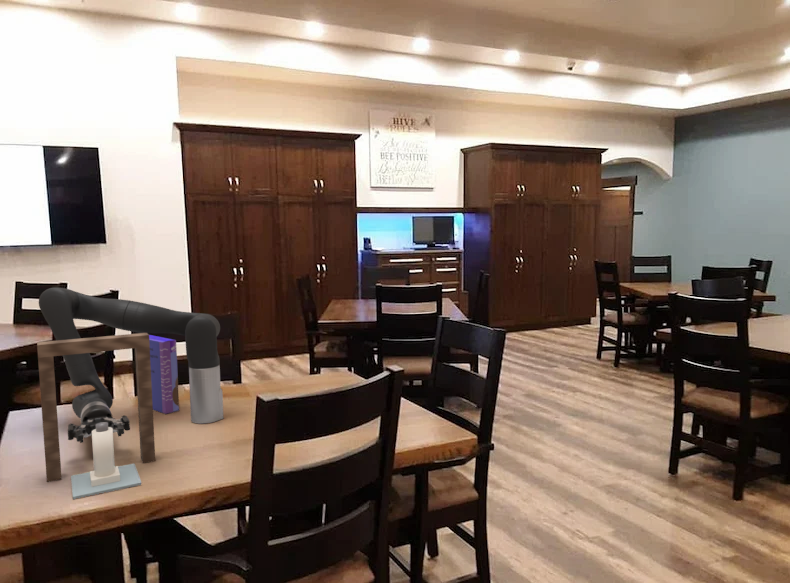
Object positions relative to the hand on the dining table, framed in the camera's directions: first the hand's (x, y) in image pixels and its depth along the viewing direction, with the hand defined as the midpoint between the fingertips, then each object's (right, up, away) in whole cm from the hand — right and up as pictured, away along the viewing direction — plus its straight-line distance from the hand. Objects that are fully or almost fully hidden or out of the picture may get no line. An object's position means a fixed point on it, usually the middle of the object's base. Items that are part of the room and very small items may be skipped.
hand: (101, 435), depth 142 cm
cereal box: (-6, -3, +50) cm, 50 cm away
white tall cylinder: (+5, -8, -8) cm, 12 cm away
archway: (0, -8, 0) cm, 8 cm away
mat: (+5, -9, -7) cm, 13 cm away
